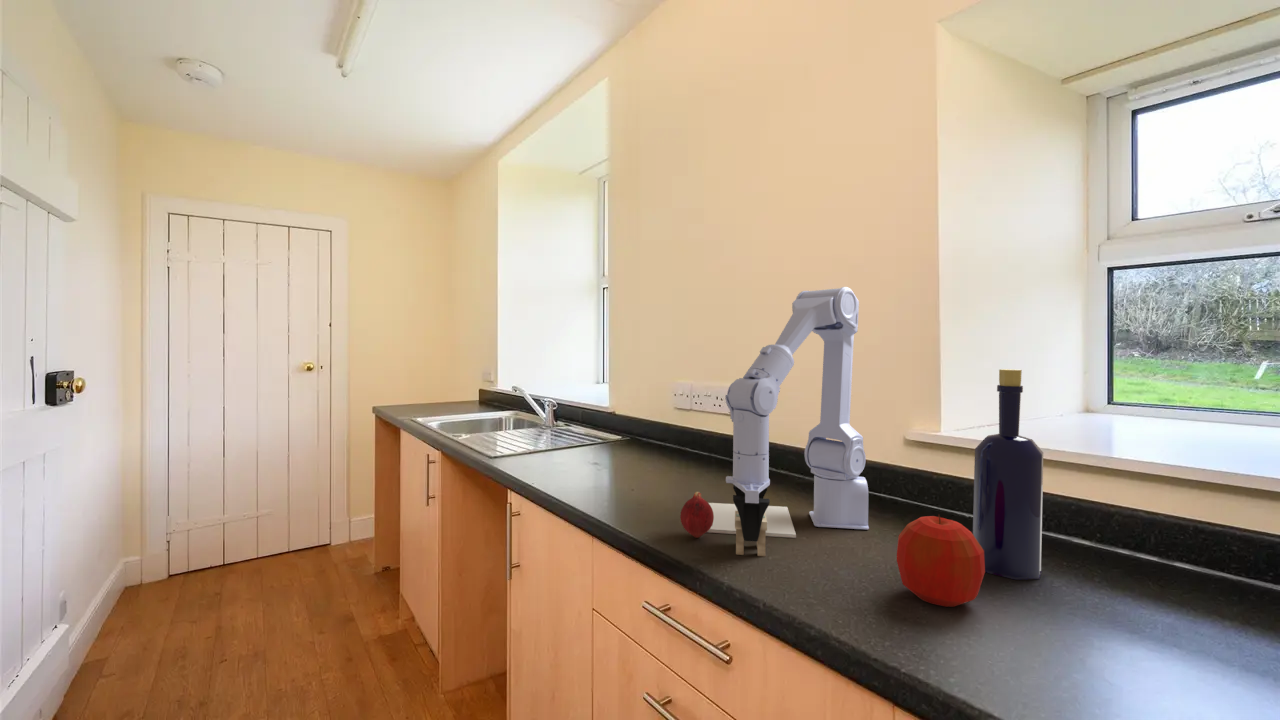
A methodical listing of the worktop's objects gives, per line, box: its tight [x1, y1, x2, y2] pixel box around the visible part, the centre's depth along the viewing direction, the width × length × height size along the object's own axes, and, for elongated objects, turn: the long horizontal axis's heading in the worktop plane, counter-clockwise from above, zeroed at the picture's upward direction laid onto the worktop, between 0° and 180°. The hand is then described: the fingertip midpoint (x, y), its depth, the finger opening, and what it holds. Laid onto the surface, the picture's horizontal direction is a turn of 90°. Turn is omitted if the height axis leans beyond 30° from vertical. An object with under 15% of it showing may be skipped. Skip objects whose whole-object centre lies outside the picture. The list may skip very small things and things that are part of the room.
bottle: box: [972, 368, 1044, 581], centre depth 81 cm, size 9×9×30 cm
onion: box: [679, 491, 714, 539], centre depth 93 cm, size 6×6×8 cm
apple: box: [896, 514, 986, 608], centre depth 70 cm, size 10×10×12 cm
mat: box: [706, 502, 797, 539], centre depth 102 cm, size 16×16×1 cm
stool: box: [735, 511, 767, 557], centre depth 88 cm, size 5×5×6 cm
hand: (750, 534), depth 88 cm, fingers closed on stool, 5 cm apart
